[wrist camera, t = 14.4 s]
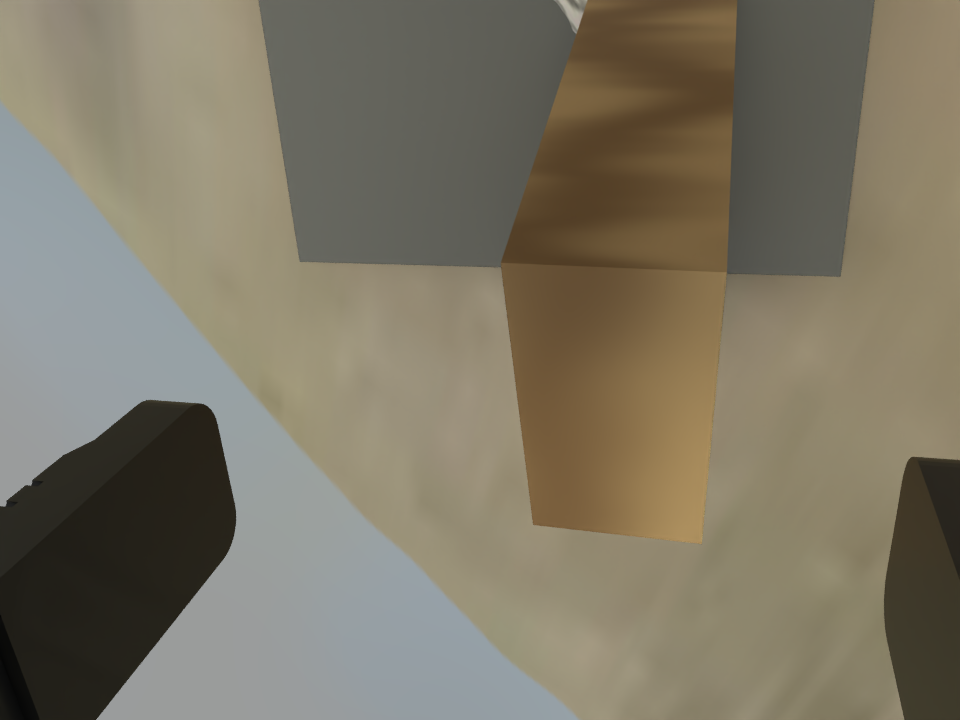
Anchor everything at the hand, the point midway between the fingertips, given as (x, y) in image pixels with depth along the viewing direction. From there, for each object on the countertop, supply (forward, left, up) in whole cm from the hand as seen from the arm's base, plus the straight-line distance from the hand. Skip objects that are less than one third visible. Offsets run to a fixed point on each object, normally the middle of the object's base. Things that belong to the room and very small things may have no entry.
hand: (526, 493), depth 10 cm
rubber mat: (0, +3, -21) cm, 21 cm away
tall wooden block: (0, 0, -19) cm, 19 cm away
